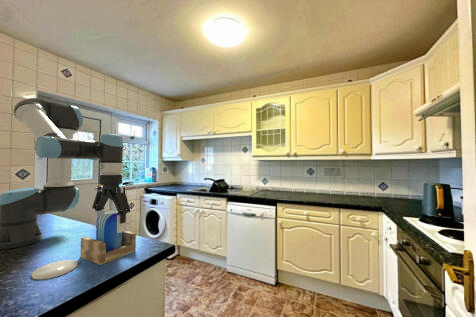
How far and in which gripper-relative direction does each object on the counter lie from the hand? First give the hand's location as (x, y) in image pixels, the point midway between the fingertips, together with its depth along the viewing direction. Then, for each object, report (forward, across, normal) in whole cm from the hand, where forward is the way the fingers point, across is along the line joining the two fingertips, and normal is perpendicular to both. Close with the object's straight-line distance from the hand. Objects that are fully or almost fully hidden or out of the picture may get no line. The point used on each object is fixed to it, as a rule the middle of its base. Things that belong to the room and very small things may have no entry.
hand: (110, 229), depth 77 cm
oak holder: (+9, 0, 0) cm, 9 cm away
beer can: (+10, 0, 0) cm, 10 cm away
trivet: (+9, -3, -15) cm, 18 cm away
